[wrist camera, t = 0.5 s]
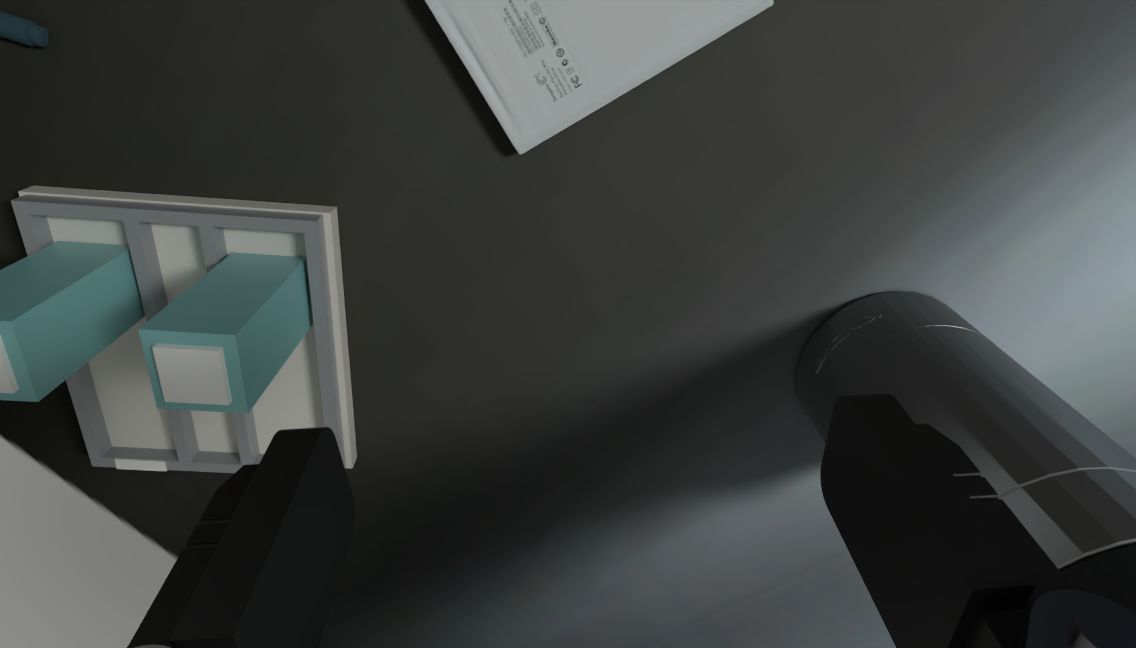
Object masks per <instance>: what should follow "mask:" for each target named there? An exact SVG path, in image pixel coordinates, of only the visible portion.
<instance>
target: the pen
mask: <svg viewBox="0 0 1136 648" xmlns="http://www.w3.org/2000/svg"><path fill="white" fill-rule="evenodd" d="M0 37H3V38H6V39H9V40H13V41H16V42H19V43H22V44H26V45H29V46H33V47H34V46H39V47H46V46H48V42H49V38H48V30H47V29H46V28H45V27H42V26H39V25H37V23H36V22H33V21H30V20H27V19H23V18H20V17H17V16H14V15H11V14H8V13H4V12H1V11H0Z"/></svg>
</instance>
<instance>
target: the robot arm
mask: <svg viewBox="0 0 1136 648" xmlns="http://www.w3.org/2000/svg"><path fill="white" fill-rule="evenodd" d="M796 381H797V389H798V395H799V398H800V400H801V402H802V405H803V407H804V409H805V411H806V412H807V414H808V416H809V417H810V419H811V421H812V422H813V424H814V426H815V427H816V429H817V431H818V432H819V434H820V436H821V438H822V439H823V441H824V443H825V444H826V446H825V450H824V455H823V460H822V465H821V487H822V492H823V497H824V500H825V503H826V505H827V508H828V510H829V512H830V514H831V516H832V518H833V520H834V522H835V524H836V526H837V528H838V530H839V532H840V534H841V536H842V538H843V540H844V542H845V544H846V546H847V548H848V550H849V552H850V554H851V556H852V558H853V561H854V563H855V565H856V567H857V569H858V571H859V573H860V575H861V577H862V579H863V581H864V583H865V585H866V587H867V589H868V591H869V593H870V595H871V597H872V599H873V601H874V603H875V605H876V607H877V609H878V611H879V613H880V615H881V617H882V619H883V621H884V623H885V626H886V628H887V630H888V632H889V634H890V636H891V638H892V640H893V642H894V644H895V646H896V648H1136V458H1135V457H1133V456H1132V455H1131V454H1130V453H1128V452H1127V451H1126V450H1125V449H1123V448H1122V447H1121V446H1120V445H1118V444H1117V443H1116V442H1115V441H1113V440H1112V439H1111V438H1110V437H1109V436H1107V435H1106V434H1105V433H1104V432H1102V431H1101V430H1100V429H1099V428H1097V427H1096V426H1095V425H1094V424H1092V423H1091V422H1090V421H1089V420H1088V419H1086V418H1085V417H1084V416H1083V415H1081V414H1080V413H1079V412H1078V411H1076V410H1075V409H1074V408H1073V407H1071V406H1070V405H1069V404H1068V403H1066V402H1065V401H1064V400H1063V399H1062V398H1060V397H1059V396H1058V395H1057V394H1055V393H1054V392H1053V391H1052V390H1050V389H1049V388H1048V387H1047V386H1045V385H1044V384H1043V383H1042V382H1041V381H1039V380H1038V379H1037V378H1036V377H1034V376H1033V375H1032V374H1031V373H1029V372H1028V371H1027V370H1026V369H1024V368H1023V367H1022V366H1021V365H1019V364H1018V363H1017V362H1016V361H1015V360H1013V359H1012V358H1011V357H1010V356H1008V355H1007V354H1006V353H1005V352H1003V351H1002V350H1001V349H1000V348H998V347H997V346H996V345H995V344H994V343H993V342H992V341H990V340H989V339H988V338H987V337H985V336H984V335H983V334H982V333H980V332H979V331H978V330H977V329H976V328H974V327H973V326H972V325H971V324H969V323H968V322H967V321H966V320H964V319H963V318H962V317H961V316H959V315H958V314H957V313H956V312H954V311H953V310H952V309H951V308H949V307H948V306H947V305H946V304H944V303H942V302H940V301H939V300H937V299H935V298H933V297H931V296H927V295H924V294H920V293H916V292H903V291H894V292H887V293H880V294H876V295H872V296H869V297H866V298H863V299H860V300H858V301H856V302H854V303H852V304H850V305H848V306H846V307H844V308H842V309H841V310H839V311H838V312H837V313H836V314H834V315H833V316H832V317H830V318H829V319H828V320H826V321H825V322H824V323H823V325H822V326H821V327H820V328H819V329H818V330H817V331H816V332H815V333H814V334H813V336H812V337H811V339H810V341H809V342H808V344H807V345H806V347H805V349H804V351H803V353H802V356H801V359H800V361H799V364H798V371H797V379H796ZM354 513H355V512H354V500H353V495H352V491H351V488H350V485H349V481H348V478H347V474H346V471H345V468H344V464H343V461H342V457H341V454H340V451H339V447H338V444H337V440H336V437H335V434H334V432H333V431H332V429H331V428H329V427H318V428H301V429H283V430H279V431H277V432H276V434H275V435H274V436H273V438H272V440H271V442H270V444H269V446H268V448H267V450H266V452H265V454H264V456H263V458H262V460H261V461H260V463H259V464H251V465H243V466H242V467H241V468H240V469H239V470H238V471H237V472H236V473H235V474H234V475H232V476H231V477H230V478H229V479H228V480H227V481H226V482H225V483H224V484H223V485H222V486H221V487H219V488H218V489H217V490H216V492H215V494H214V495H213V497H212V499H211V501H210V502H209V504H208V506H207V508H206V509H205V511H204V513H203V515H202V517H201V518H200V525H196V527H195V529H194V531H193V532H192V534H191V536H190V538H189V540H188V541H187V543H186V545H187V547H186V550H182V552H181V554H180V555H179V557H178V559H177V561H176V563H175V564H174V566H173V568H172V570H171V572H170V573H169V575H168V577H167V578H166V580H165V582H164V584H163V586H162V587H161V589H160V591H159V593H158V594H157V596H156V598H155V600H154V602H153V603H152V605H151V607H150V609H149V610H148V612H147V614H146V616H145V617H144V619H143V621H142V623H141V624H140V627H139V628H138V630H137V632H136V633H135V635H134V637H133V639H132V640H131V642H130V644H129V646H128V647H127V648H318V646H319V643H320V640H321V636H322V633H323V630H324V626H325V623H326V620H327V617H328V613H329V610H330V607H331V603H332V600H333V597H334V593H335V590H336V587H337V584H338V580H339V577H340V574H341V570H342V567H343V564H344V560H345V557H346V554H347V551H348V547H349V544H350V541H351V537H352V533H353V528H354Z"/></svg>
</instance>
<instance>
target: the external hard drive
mask: <svg viewBox="0 0 1136 648" xmlns="http://www.w3.org/2000/svg"><path fill="white" fill-rule="evenodd" d="M425 2H426V4H427V5H428V7H429V8H430V10H431V12H432V13H433V15H434V17H435V18H436V20H437V21H438V23H439V25H440V26H441V28H442V29H443V31H444V33H445V34H446V36H447V38H448V39H449V41H450V43H451V44H452V46H453V47H454V49H455V51H456V52H457V54H458V56H459V57H460V59H461V60H462V62H463V64H464V65H465V67H466V69H467V70H468V72H469V74H470V75H471V77H472V79H473V80H474V82H475V84H476V85H477V87H478V89H479V90H480V92H481V93H482V95H483V97H484V98H485V100H486V102H487V103H488V105H489V107H490V108H491V110H492V111H493V113H494V115H495V116H496V118H497V120H498V121H499V123H500V124H501V126H502V128H503V129H504V131H505V133H506V134H507V136H508V138H509V139H510V141H511V143H512V144H513V146H514V147H515V149H516V150H517V152H518V153H519V154H520V155H521V154H523V153H525V152H526V151H528V150H530V149H531V148H533V147H535V146H536V145H538V144H540V143H541V142H543V141H545V140H546V139H548V138H550V137H552V136H553V135H555V134H557V133H558V132H560V131H562V130H564V129H565V128H567V127H569V126H570V125H572V124H574V123H575V122H577V121H579V120H581V119H582V118H584V117H586V116H587V115H589V114H591V113H592V112H594V111H596V110H597V109H599V108H601V107H603V106H604V105H606V104H608V103H609V102H611V101H613V100H614V99H616V98H617V97H619V96H621V95H623V94H624V93H626V92H628V91H629V90H631V89H633V88H634V87H636V86H638V85H640V84H641V83H643V82H644V81H646V80H648V79H650V78H651V77H653V76H655V75H656V74H658V73H660V72H661V71H663V70H665V69H666V68H668V67H670V66H671V65H673V64H675V63H676V62H678V61H680V60H682V59H683V58H685V57H687V56H688V55H690V54H692V53H693V52H695V51H697V50H698V49H700V48H702V47H703V46H705V45H707V44H708V43H710V42H712V41H713V40H715V39H717V38H718V37H720V36H722V35H723V34H725V33H727V32H728V31H730V30H732V29H733V28H735V27H737V26H738V25H740V24H742V23H743V22H745V21H747V20H749V19H750V18H752V17H754V16H755V15H757V14H759V13H760V12H762V11H763V10H765V9H767V8H768V7H770V6H772V5H773V3H774V1H773V0H425Z"/></svg>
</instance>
